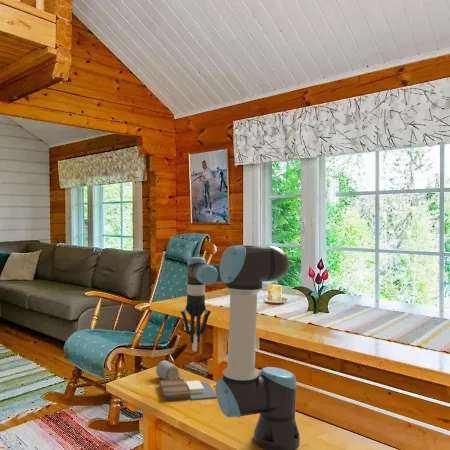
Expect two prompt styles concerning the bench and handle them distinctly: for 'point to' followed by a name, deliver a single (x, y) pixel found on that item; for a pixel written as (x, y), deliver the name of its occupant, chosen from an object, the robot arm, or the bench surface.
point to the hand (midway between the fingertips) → (194, 350)
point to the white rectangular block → (195, 387)
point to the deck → (174, 390)
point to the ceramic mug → (167, 370)
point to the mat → (206, 395)
